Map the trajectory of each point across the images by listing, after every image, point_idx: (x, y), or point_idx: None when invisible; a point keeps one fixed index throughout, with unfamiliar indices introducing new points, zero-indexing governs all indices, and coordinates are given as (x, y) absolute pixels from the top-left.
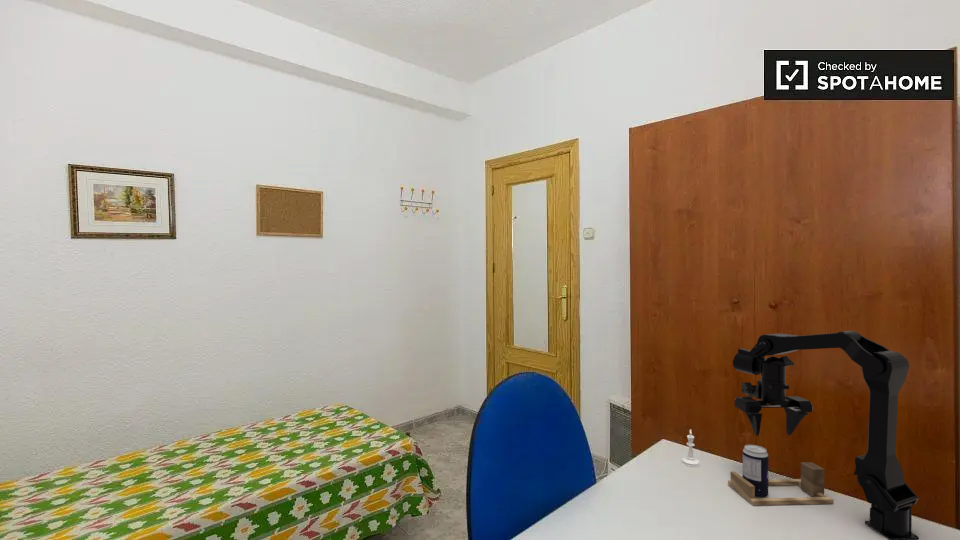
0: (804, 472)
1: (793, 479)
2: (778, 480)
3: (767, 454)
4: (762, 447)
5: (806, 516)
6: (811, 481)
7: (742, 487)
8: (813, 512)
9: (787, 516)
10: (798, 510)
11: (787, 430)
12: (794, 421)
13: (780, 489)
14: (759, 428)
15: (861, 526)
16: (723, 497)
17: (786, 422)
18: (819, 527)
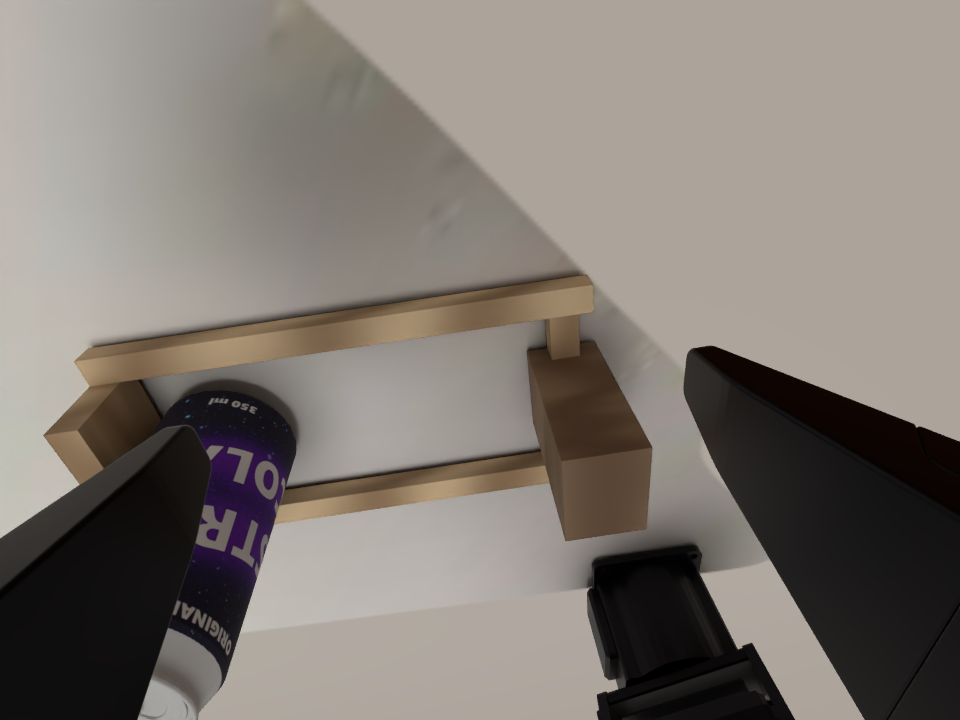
0: (550, 448)
1: (535, 295)
2: (423, 323)
3: (208, 701)
4: (173, 690)
5: (400, 549)
6: (547, 470)
7: None
8: (448, 523)
9: (321, 559)
10: (392, 519)
11: (713, 393)
12: (839, 664)
13: (408, 358)
14: (160, 616)
15: (566, 572)
16: (55, 472)
17: (814, 438)
18: (407, 596)
